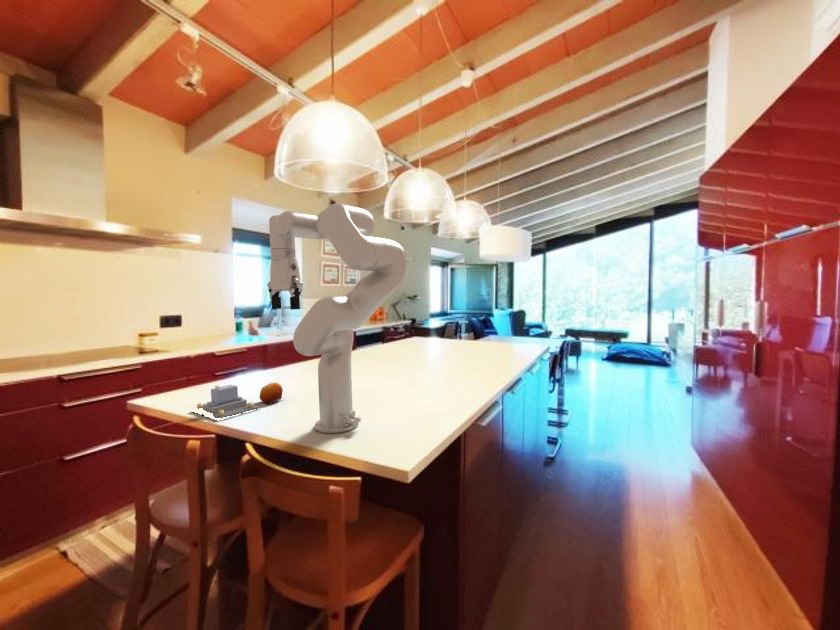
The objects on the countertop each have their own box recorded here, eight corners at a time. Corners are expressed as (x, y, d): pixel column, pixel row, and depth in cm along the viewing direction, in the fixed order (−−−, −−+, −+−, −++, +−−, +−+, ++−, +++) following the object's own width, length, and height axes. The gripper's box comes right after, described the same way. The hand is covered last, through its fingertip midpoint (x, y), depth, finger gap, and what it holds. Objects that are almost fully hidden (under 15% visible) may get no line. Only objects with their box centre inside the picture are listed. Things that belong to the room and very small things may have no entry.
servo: (242, 405, 135) (241, 382, 135) (213, 412, 127) (211, 388, 127) (236, 403, 138) (235, 380, 137) (207, 410, 130) (205, 387, 129)
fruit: (283, 400, 138) (270, 381, 138) (265, 412, 139) (252, 393, 138) (291, 394, 146) (279, 376, 146) (273, 405, 147) (262, 387, 146)
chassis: (259, 409, 133) (259, 400, 133) (218, 421, 122) (217, 412, 122) (231, 401, 144) (230, 393, 143) (191, 411, 132) (190, 403, 132)
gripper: (310, 254, 123) (312, 308, 124) (277, 257, 133) (279, 308, 134) (290, 252, 116) (292, 310, 118) (256, 256, 127) (259, 309, 128)
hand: (285, 309), depth 126 cm, fingers open, 9 cm apart
